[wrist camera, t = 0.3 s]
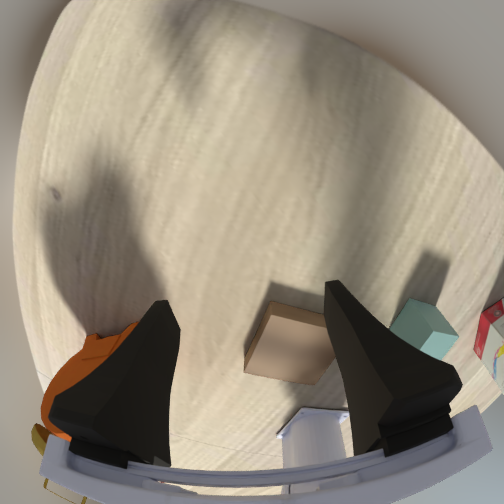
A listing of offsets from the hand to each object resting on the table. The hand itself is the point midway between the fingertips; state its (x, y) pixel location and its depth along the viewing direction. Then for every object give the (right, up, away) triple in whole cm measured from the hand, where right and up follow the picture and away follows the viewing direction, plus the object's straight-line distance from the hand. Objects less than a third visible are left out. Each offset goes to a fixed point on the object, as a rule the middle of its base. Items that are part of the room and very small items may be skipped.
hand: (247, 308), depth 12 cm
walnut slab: (+4, -6, +15) cm, 17 cm away
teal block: (+18, -5, +13) cm, 23 cm away
